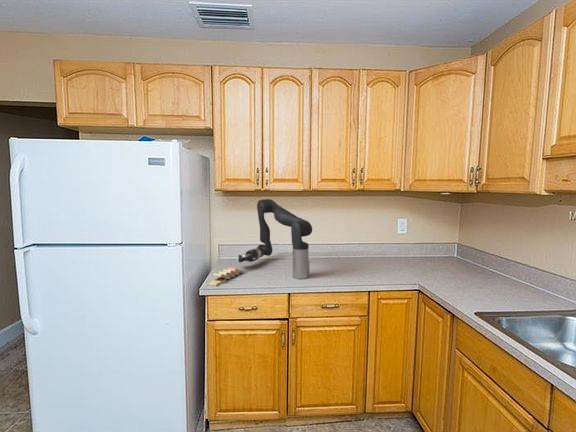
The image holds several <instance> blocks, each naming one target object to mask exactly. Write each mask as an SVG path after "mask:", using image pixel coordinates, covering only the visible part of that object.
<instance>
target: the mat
mask: <svg viewBox="0 0 576 432" xmlns="http://www.w3.org/2000/svg"><path fill="white" fill-rule="evenodd" d="M247 273H249V271H244V270H243V273H239V275H235V277H231V278H230V279H227V281H226V282H225V283H229V282H231V281H233V280H235V279H237V278H240V277H241V276H244V275H245V274H247Z"/></svg>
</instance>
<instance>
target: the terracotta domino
mask: <svg viewBox="0 0 576 432" xmlns="http://www.w3.org/2000/svg"><path fill="white" fill-rule="evenodd" d="M227 270H231V271H235V272H240V273H243V271H244V270H243V269H238V268H233V267H227Z"/></svg>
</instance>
